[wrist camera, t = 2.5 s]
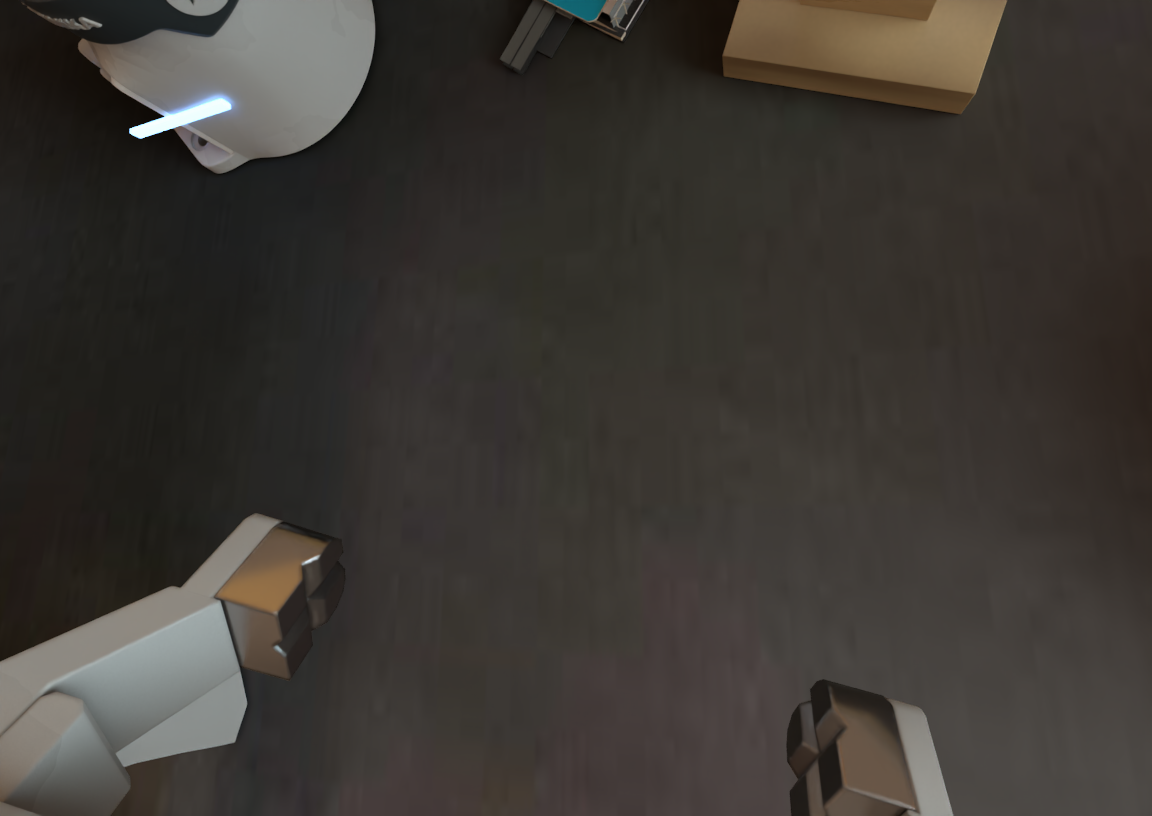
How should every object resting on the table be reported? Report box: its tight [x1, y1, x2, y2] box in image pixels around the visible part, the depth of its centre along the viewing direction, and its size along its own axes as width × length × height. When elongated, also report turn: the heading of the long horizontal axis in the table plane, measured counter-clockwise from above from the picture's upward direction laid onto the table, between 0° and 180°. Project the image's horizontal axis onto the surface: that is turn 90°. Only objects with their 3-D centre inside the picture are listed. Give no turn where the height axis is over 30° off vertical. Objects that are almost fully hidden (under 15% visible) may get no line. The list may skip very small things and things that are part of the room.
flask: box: [116, 671, 247, 767], centre depth 37 cm, size 7×7×10 cm
